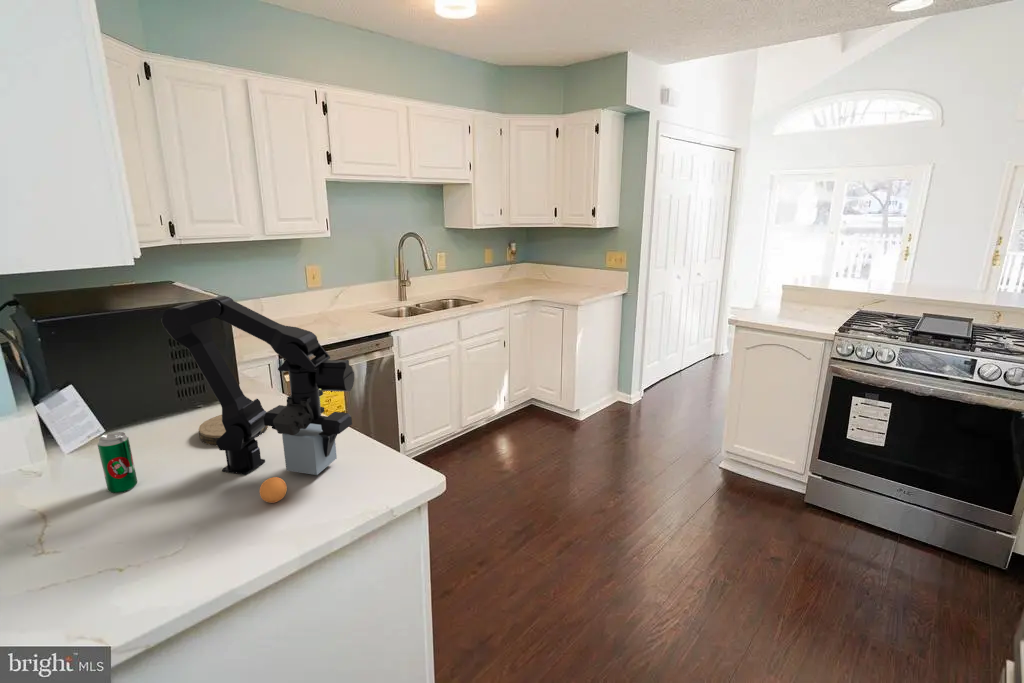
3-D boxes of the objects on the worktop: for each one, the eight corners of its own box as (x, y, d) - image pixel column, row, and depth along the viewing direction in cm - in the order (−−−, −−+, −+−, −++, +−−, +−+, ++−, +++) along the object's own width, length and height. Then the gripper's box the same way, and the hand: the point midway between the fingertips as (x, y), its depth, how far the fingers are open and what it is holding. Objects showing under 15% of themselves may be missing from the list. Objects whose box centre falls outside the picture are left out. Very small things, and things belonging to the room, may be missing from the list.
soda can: (118, 482, 108) (107, 431, 105) (143, 481, 108) (133, 430, 105) (102, 495, 103) (90, 442, 100) (128, 494, 103) (116, 441, 100)
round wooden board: (263, 416, 143) (262, 406, 142) (272, 437, 130) (271, 426, 129) (198, 428, 134) (197, 418, 134) (201, 452, 122) (199, 441, 121)
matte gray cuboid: (286, 470, 110) (282, 434, 108) (307, 454, 118) (304, 420, 115) (317, 475, 109) (313, 438, 106) (336, 458, 116) (333, 423, 114)
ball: (255, 505, 100) (252, 483, 98) (272, 492, 104) (269, 471, 103) (277, 509, 99) (274, 487, 97) (293, 495, 103) (290, 474, 102)
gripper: (240, 398, 103) (250, 466, 107) (320, 407, 99) (327, 477, 103) (277, 380, 113) (284, 443, 118) (350, 388, 109) (355, 452, 113)
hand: (311, 454), depth 113 cm, fingers closed on matte gray cuboid, 8 cm apart
